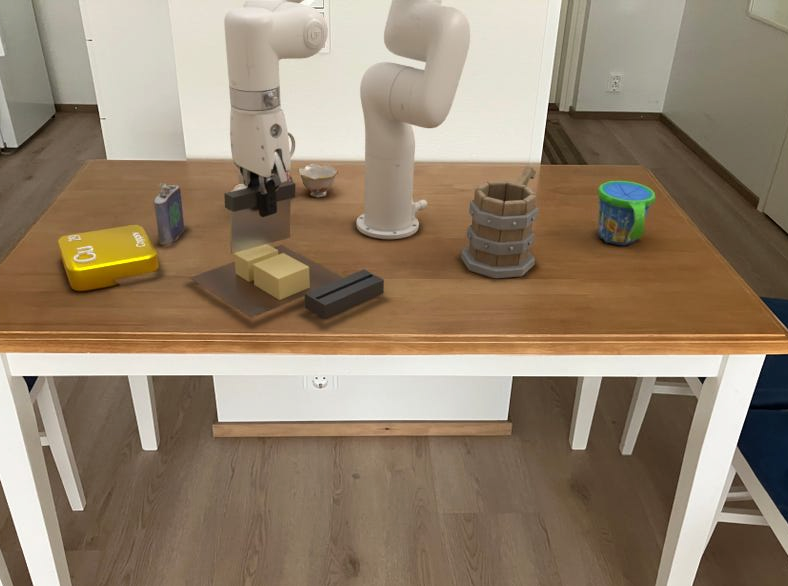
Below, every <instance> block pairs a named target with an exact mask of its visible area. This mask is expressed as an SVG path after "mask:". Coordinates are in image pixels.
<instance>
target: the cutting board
mask: <svg viewBox="0 0 788 586" xmlns="http://www.w3.org/2000/svg"><path fill="white" fill-rule="evenodd" d="M273 248H275V249H277V250H278V255H279V254H282V253H284V254H286V255H288V256H290V257H292V258H294V259H295V260H297V261H299V262H301V263H303V264H305V265H307V266H308V267H309V281H310V288H308V289H305V290H303V291H300V292H298V293H296V294H293V295H291V296H288V297H286V298H283V299H281V300H279V299H277V298H275V297H274V296H272V295H270V294H269V293H267V292H265V291H264V290H262V289H260V288H259V287H257V286H255V285H254V280H253V281H250V282H249V281H247V280H245V279H244V278H242V277H240V276H239V275H237V274H236V270H235V261H232V262H230V263H227V264H224V265H220V266H218V267H216V268H215V267H214V268H213V269H210V270H207V271H204V272H202V273H199V274H196V275H193V276H190V277H189V279H190V280H192V281H193V282H195V283H196V284H198V285H199V286H201V287H203V288H204V289H206V290H207V291H209V292H211V293H212V294H213V295H215V296H216V297H218V298H220V299H221V300H223V301H224V302H226V303H227V304H229V305H231V306H232V307H233V308H235V309H237V310H239V312H241V313H242V314H244V315H246V316H248V317H249V318H251V319H253V318H255V317H258V316H260V315H262V314H264V313H267V312H269V311H272V310H274V309H277V308H279V307H282V306H284V305H286V304H289V303H291V302H293V301H296V300H298V299H300V298H303V297H305V293H308V292H310V291H312V290H315V289H317V288H320V287H322V286H324V285H327V284H329V283H332V282H334V281H337V280H339V279H341V278H344V277H343V276H341V275H339V274H337V273H336V272H334V271H331V270H330V269H328V268H326V267H325V266H323V265H320V264H319V263H317V262H315V261H313V260H311V259H309V258H307V257H305V256H304V255H302V254H300V253H298V252H296V251H294V250H293V249H291V248H289V247H287V246H285V245H283V244H280V245H276V246H274V247H273Z"/></svg>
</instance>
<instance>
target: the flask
mask: <svg viewBox="0 0 788 586" xmlns="http://www.w3.org/2000/svg"><path fill="white" fill-rule="evenodd" d="M158 187H160V188H161V189H160V192H159V193H158V194H157V196H156V197H155V199H154V201H153V205H154V210H155V212H154V213H155V219H156V226H157V234H158V242H159V246H160V247H165V246H168V245H170V244H174V242H176V241H177V240H178V239H179V236H180V235H181V234H182V233H183V232H184V231H185V230H186V229H185V221H184V212H183V203H182V195H181V194H182V191H181V187H180V186H179V185H177V184H176V185H175V184H170V185H167V184H166V183H159V184H158Z"/></svg>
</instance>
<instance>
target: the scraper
mask: <svg viewBox="0 0 788 586" xmlns="http://www.w3.org/2000/svg"><path fill="white" fill-rule="evenodd" d="M293 182H294V181H293ZM293 182H291V181H288V180H287V183H286V184H283V185H280V186H279V187H278V191H276V200H277V212H276V213H275V214H272V215H269V216H266V217H261V216H260V215H259V201H258V193H261V192H260V186H255V187H250V188H246V189H241V190H237V191H232V192H230V191H228V192H224V208H225V209H226V210H228V209H229V210H230V211H229V210H228V211H229V227H230V228H229V233H230V254H232V255H234V253H237V252H240V251H244V250H247V249H251V248H254V247H258V246H262V245H265V244H268V245H270V244H272V243H275V242H280V241H283V240H286V239H290V238H291V199H294V198H296V182H294V183H293Z"/></svg>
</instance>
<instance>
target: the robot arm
mask: <svg viewBox="0 0 788 586" xmlns="http://www.w3.org/2000/svg"><path fill="white" fill-rule="evenodd" d="M304 1H305V0H245V1H244V4H243V6H242V7H237V8H233V9H230V10H228V11H227V13H226V14H225V16H224V19H223V20H224V21H223V23H224V25H223V26H224V36H225V37H224V39H225V50H226V51H225V52H226V64H227V77H228V89H229V99H230V113H229V114H230V116H229V137H230V138H229V139H230V151H231V157H232V161H233V164H234V165H235V167H236V168H237V169H238V170H240V172H241V174H242V176H243V183H244V185H245V186H246V187H247V186H248V187H247V188H250V187H255V186H260V192H261V193H258V201H259V215H260V216H261V217H266V216H269V215H272V214H275V213H276V212H277V200H276V191H278V187H279V186H280V185H283V184H286V183H287V178H286V174H285V172H288V173H290V171H291V167H292V162H291V158H290V151H291V148H290V141H289V136H288V132H289V131H288V127H287V121H286V116H285V113H284V109H282V108H281V107H282V106H281V105H282V103H281V83H280V61H281V60H287V59H288V60H290V59H295V60H297V59H298V60H299V59H301V60H302V59H308V58H310V57H313V56H315V55H317V54H318V53H319V52H320V51H321V50H322V49H323V47H324V46H325V45H326V42H327V39H328V35H329V30H328V24H327V21H326V19H325V17H324V16H323V14H322V13H321V12H320V11H319V10H318V9H316V8H315V7H312V6H311V5H307V4H304V3H302V2H304ZM442 2H443V0H391V3H390V7H389V11H388V14H387V18H386V22H385V26H384V31H383V42H384V45H385V48H386V49H387V50H388V52H390V53H392V54H393V55H395V56H398V57H402V58H406V59H408V60H414V61H419V62H422V63H425V65H424V69H421V68H417V67H414V66H410V65H406V64H405V65H404V64H400V63H396V62H390V61H389V62H387V61H386V62H385V61H384V62H383V61H382V62H377V63H375V64H373V65H370V66H369V67H368V68H367V69H366V70H365V72H364V74H363V75H362V78H361V81H360V85H359V86H360V87H359V95H360V103H361V109H362V113H363V122H364V140H365V142H364V197H363V199H364V200H363V202H364V204H363V205H364V206H363V207H364V208H363V209H364V213H362V214H360V215H358V217H357V218H356V221H355V222H356V228H357V230H358V231H359V232H360V233H361V234H363V235H365V236H367V237H370V238H374V239H378V240H379V239H380V240H398V239H399V240H400V239H405V238H408V237H411V236H412V235H414V234H416V233H417V232H418V230H419V227H420V222H419V219H418V218H417V217H416V214H417V213H418V211H422V210H425V209H427V207H428V202H427V200H426V199H424V198H423V199H419V200H417V201H416V202H415V201H414V199H413V192H414V173H415V172H414V171H415V156H416V155H415V152H416V139H415V133H414V130H413V127H412V126H415V127H419V128H423V129H435V128H438V127H440V126H441V125H442V124H443V123H444V122H445V120H447V117H448V116H449V113H450V111H451V109H452V106H453V103H454V100H455V97H456V93H457V90H458V88H459V87H458V86H459V84H460V80H461V76H462V73H463V70H464V67H465V63H466V60H467V57H468V52H469V49H470V43H471V27H470V23H469V19H468V18H467V16H466V15H465V13H463V12H462V11H461V10H459V9H457V8H454V7H451V6H446V5H442ZM290 162H291V163H290ZM267 178H271V180H269V181H268V182H266V179H267Z"/></svg>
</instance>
